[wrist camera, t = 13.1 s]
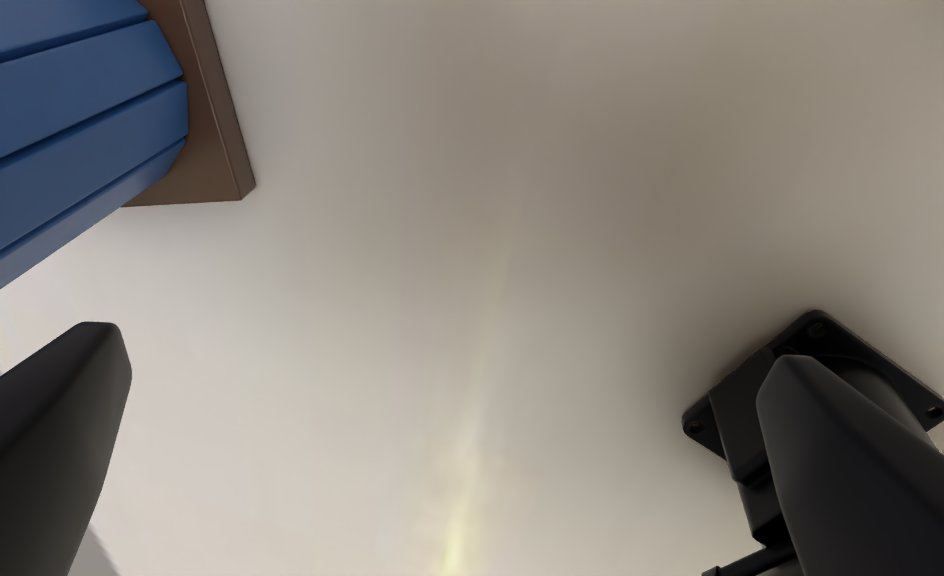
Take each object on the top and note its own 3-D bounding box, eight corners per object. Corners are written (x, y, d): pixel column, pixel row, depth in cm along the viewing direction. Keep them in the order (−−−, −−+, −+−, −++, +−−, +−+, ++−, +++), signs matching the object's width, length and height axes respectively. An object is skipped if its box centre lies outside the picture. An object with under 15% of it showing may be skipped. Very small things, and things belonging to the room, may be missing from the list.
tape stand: (179, -87, 18) (45, -82, 14) (256, 187, 22) (173, 264, 17) (-71, -54, 19) (-273, -39, 15) (44, 199, 23) (-87, 275, 19)
